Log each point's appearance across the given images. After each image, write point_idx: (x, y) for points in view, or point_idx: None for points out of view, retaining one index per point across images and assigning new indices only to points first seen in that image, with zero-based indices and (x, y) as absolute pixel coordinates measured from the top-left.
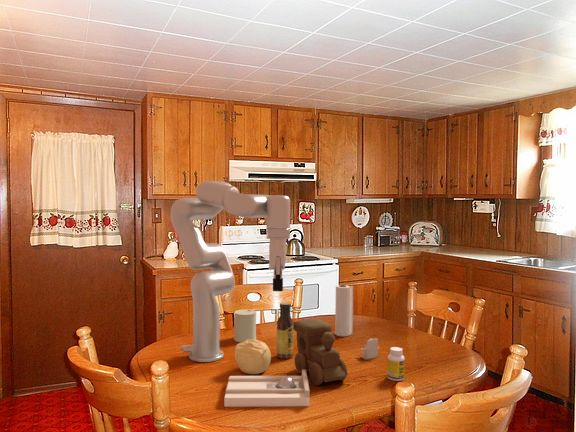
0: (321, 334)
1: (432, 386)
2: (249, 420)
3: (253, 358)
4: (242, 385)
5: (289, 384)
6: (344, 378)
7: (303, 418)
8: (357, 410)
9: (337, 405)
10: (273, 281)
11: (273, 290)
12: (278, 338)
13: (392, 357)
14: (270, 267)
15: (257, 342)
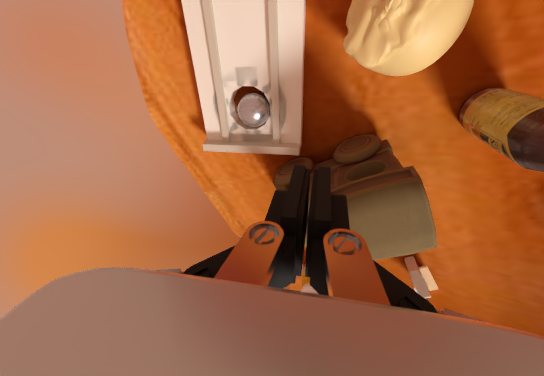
0: None
1: (287, 289)
2: (147, 37)
3: (348, 21)
4: (244, 2)
5: (239, 117)
6: None
7: (176, 128)
8: (212, 199)
9: (222, 179)
10: (285, 205)
11: (295, 168)
12: (510, 104)
13: (306, 289)
14: (17, 305)
15: (400, 30)
